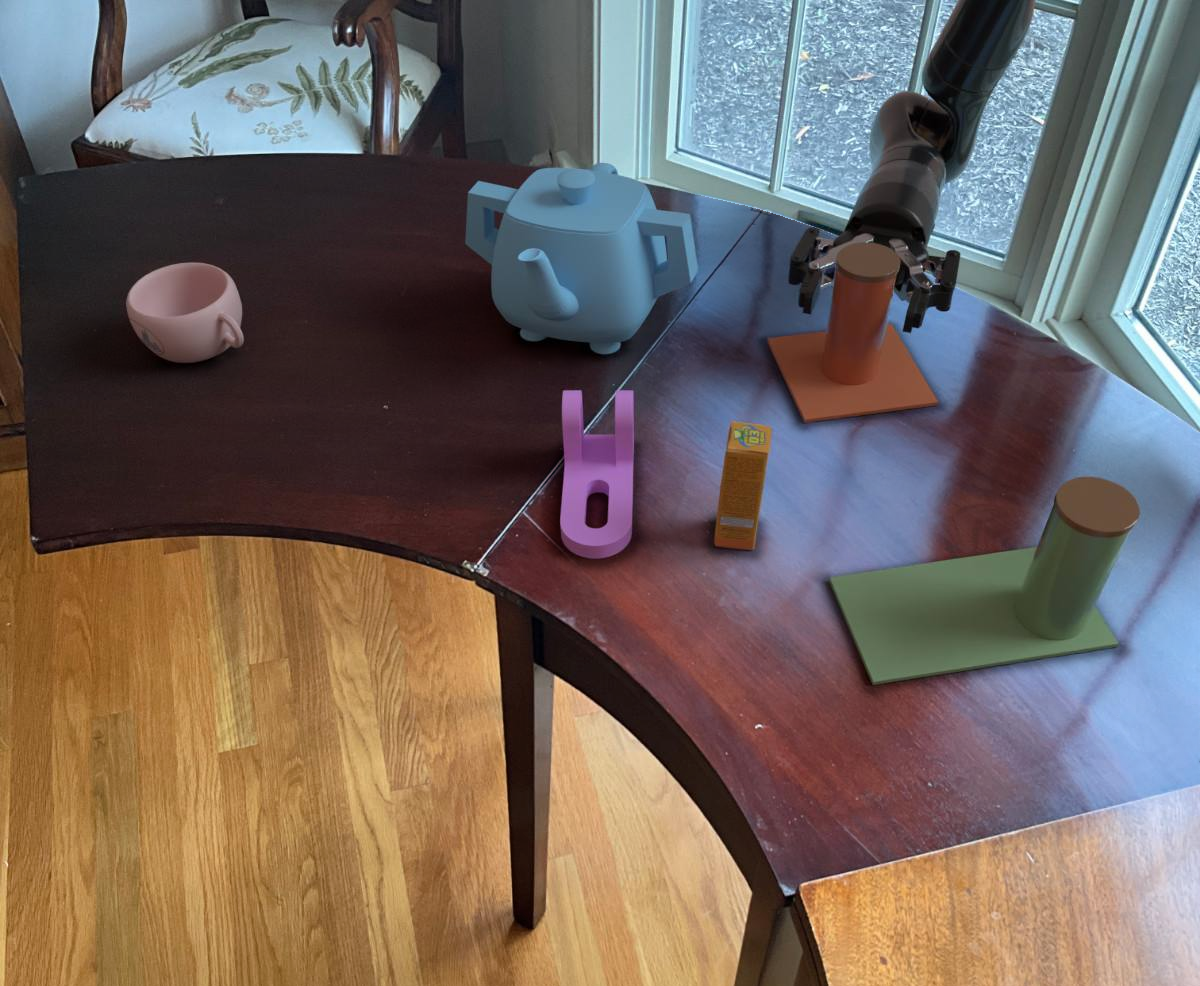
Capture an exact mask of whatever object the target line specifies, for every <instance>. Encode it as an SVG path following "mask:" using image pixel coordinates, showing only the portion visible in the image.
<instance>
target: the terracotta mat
mask: <svg viewBox="0 0 1200 986" xmlns="http://www.w3.org/2000/svg"><path fill="white" fill-rule="evenodd" d="M826 331H827V330H823V331H815V332H807V333H800V334H799V333H798V334H792V335H782V336H775V337H768V338H767V340H766V343H767V344H768V346H769V349H770V351H771V354H772V355H773V358H774V360H775V362H776V364H777V367H778V368H779V369H778V370H779V371H780V373H781V376H782V377H783V380H784V382H785V384H786V386H787V388H788V390H789V392H790V395H791V397H792V399H793V401H794V403H795V406H796V408H797V410H798V412H799V415H800V417H801V418H802V421H803V423H804V424H806V423H815V422H822V421H830V420H837V419H844V418H852V417H858V416H859V417H860V416H865V415H866V416H867V415H874V414H881V413H889V412H897V411H905V410H911V409H920V408H926V407H927V408H928V407H934V406H938V404H939V401H938V398H937V397H936V395H935V394H934V392H933V391H932V389H931V387H930V386H929V384H928V382H927V380H926V378H925V377H924V376H923V373H922V371H921V370H920V368H919V367H918V365H917V363H916V362H915V360H914V358H913V357H912V355H911V353H910V352H909V350H908V348H907V347H906V345H905V343H904V342H903V340H902V337H900V335H899V333H898V332H897V329H896V328H895V327H894V325H893V323H892V322H887V327H886V332H885V337H884V342H883V347H882V352H881V357H880V362H879V367H878V372H877V375H876V376H875V377H874V378H873V379H872V380H871V381H869V382H867V383H864V384H860V385H846V384H841V383H838V382H835V381H833V380H831V379H830V378H828V377H827V376H826V375H825V374H824V372H823V371H822V367H821V364H822V358H823V351H824V344H825V338H826Z"/></svg>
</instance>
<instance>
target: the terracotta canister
mask: <svg viewBox="0 0 1200 986" xmlns="http://www.w3.org/2000/svg"><path fill="white" fill-rule="evenodd" d="M899 268H900V258H899V256H898V254H897V253H896V252H895V251H893V250H892V249H890V248H888V247H886V246H884V245H880V244H876V243H867V242H863V243H854V244H850V245H848V246H845V247H844V248H842V249H841V250H840V251H839V252H838V254H837V257H836V272H835V278H834V285H833V288H832V292H831V300H830V305H829V313H828V318H827V325H826V330H825V331H826V338H825V344H824V351H823V358H822V364H821V367H822V371H823V372H824V374H825V375H826V376H827V377H828V378H830V379H831V380H833V381H835V382H838V383H841V384H846V385H860V384H864V383H867V382H869V381H871V380H872V379H873V378H874V377H875V376H876V375H877V372H878V367H879V362H880V357H881V352H882V347H883V342H884V337H885V332H886V327H887V323H889V317H890V312H891V306H892V302H893V297H894V287H895V282H896V277H897V273H898V271H899Z"/></svg>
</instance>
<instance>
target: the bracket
mask: <svg viewBox="0 0 1200 986" xmlns="http://www.w3.org/2000/svg"><path fill="white" fill-rule="evenodd" d="M614 399H615V400H614V434H585V431H584V429H585V428H584V408H583V406H584V405H583V393H582V389H578V390H576V389H570V390H569V389H568V390H567V389H565V390H563V391H562V400H561V425H562V441H563V442H562V443H563V456H564V457H563V458H564V470H563V481H562V482H563V484H562V493H561V494H562V495H561V505H560V519H559V523H560V525H559V526H560V538H561V541H562V543H563V545H564V546H565V548H567V549H568V550H569V551H570V552H571V553H573V554H574V555H576V556H579V557H582V558H585V559H606V558H609V557H612V556H614V555H617V554H619V553H620V552H622V551H623V550H625V548H626V547H627V546H628V545H629V543H630V542H631V539H632V536H633V506H634V505H633V504H634V503H633V502H634V501H633V500H634V496H633V495H634V460H635V459H634V456H635V455H634V454H635V453H634V452H635V437H634V436H635V434H634V433H635V432H634V431H635V429H634V424H635V422H634V421H635V419H634V417H635V416H634V414H635V413H634V408H635V407H634V403H635V402H634V399H635V398H634V390H633V389H632V390H631V389H629V390H628V389H627V390H625V389H622V390H621V389H619V390H617V389H615V396H614ZM597 493H600V494H601V493H602V494H605V495H606V496H607V497H608V506H607V508H608V510H607V523H606V524H605V525H603V526H602V527H599V528H593V527H589V526H588V525H587V524H586V517H587V504H588V503H587V502H588V498H589V497H590V495H593V494H597Z"/></svg>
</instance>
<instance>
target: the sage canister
mask: <svg viewBox="0 0 1200 986" xmlns="http://www.w3.org/2000/svg"><path fill="white" fill-rule="evenodd" d="M1056 490H1057V491H1056V492H1055V495H1054V499H1053V504H1052V506H1051V510H1050V512H1049V515H1048V517H1047V520H1046V522H1045V525H1044V528H1043V530H1042V533H1041V535H1040V538H1039V541H1038V544H1037V545H1036V547H1037V548H1036V551H1035V553H1034V556H1033V558H1032V561H1031V564H1030V566H1029V569H1028V571H1027V574H1026V577H1025V579H1024V582H1023V584H1022V587H1021V589H1020V592H1019V595H1018V597H1017V600H1016V603H1015V613H1016V616H1017V618H1018V620H1019V621H1020V622H1021V624H1022V625H1023V626H1024V627H1025V628H1026V629H1028V630H1029V631H1031V632H1032V633H1034V634H1036V635H1038V636H1040V637H1043V638H1047V639H1052V640H1066V639H1071V638H1073V637H1075V636H1077V635H1079V634H1080V633H1081V632H1082V631H1083V630H1084V629H1085V627H1086V625H1087V622H1088V620H1089V618H1090V616H1091V614H1092V612H1093V610H1094V608H1095V606H1097V603H1098V601H1099V599H1100V597H1101V595H1102V593H1103V591H1104V589H1105V587H1106V584H1107V583H1108V580H1109V578H1110V575H1111V574H1112V572H1113V570H1114V568H1115V565H1116V563H1117V561H1118V559H1119V558H1120V557H1119V556H1120V554H1121V552H1122V550H1123V548H1124V547H1125V544H1126V542H1127V540H1128V538H1129V535H1130V534H1131V532H1132V530H1133V529H1134V528H1135V526H1136V525H1137V522H1138V520H1139V518H1140V514H1141V511H1140V510H1141V508H1140V505H1139V502H1138V500H1137V499H1136V497H1135V496H1134V495H1133V494H1132V493H1131V491H1130V490H1128V489H1127V488H1125V487H1124V486H1122V485H1121V484H1119V483H1116V482H1115V481H1112V480H1109V479H1107V478H1102V477H1098V476H1078V477H1073V478H1070V479H1068V480H1066V481H1065V482H1063V483H1062V484H1060V486H1059V487H1058V488H1057V489H1056Z"/></svg>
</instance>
